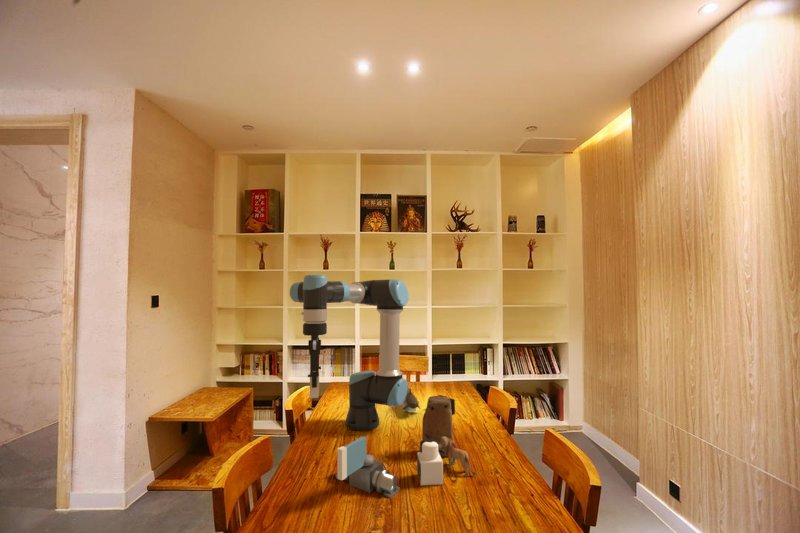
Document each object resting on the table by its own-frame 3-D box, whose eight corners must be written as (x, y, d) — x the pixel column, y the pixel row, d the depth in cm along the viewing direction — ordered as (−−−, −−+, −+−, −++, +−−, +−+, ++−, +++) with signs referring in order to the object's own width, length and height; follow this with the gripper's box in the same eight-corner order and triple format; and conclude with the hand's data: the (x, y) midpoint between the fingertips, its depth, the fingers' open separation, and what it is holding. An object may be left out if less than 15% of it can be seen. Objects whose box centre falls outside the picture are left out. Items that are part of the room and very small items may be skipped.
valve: (333, 481, 117) (333, 459, 118) (347, 472, 123) (347, 451, 123) (388, 502, 105) (388, 478, 106) (401, 490, 111) (401, 468, 112)
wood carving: (408, 397, 205) (408, 377, 205) (425, 419, 170) (424, 394, 171) (393, 398, 203) (392, 378, 204) (406, 420, 169) (406, 395, 169)
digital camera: (457, 413, 177) (456, 399, 178) (448, 416, 174) (448, 401, 175) (442, 408, 186) (442, 394, 186) (434, 410, 183) (434, 396, 183)
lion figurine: (436, 464, 127) (435, 437, 127) (445, 459, 130) (445, 433, 131) (471, 479, 116) (470, 450, 117) (481, 473, 120) (480, 445, 120)
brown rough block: (450, 448, 139) (449, 394, 140) (454, 457, 131) (453, 400, 132) (421, 449, 138) (421, 395, 139) (424, 458, 131) (423, 401, 132)
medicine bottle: (417, 474, 120) (416, 436, 120) (438, 473, 120) (438, 435, 121) (420, 486, 113) (419, 446, 113) (443, 484, 113) (442, 444, 114)
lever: (365, 458, 118) (365, 431, 118) (376, 461, 115) (376, 434, 116) (334, 477, 106) (334, 447, 106) (345, 482, 103) (345, 451, 104)
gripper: (304, 320, 128) (304, 386, 127) (301, 325, 108) (300, 404, 107) (326, 319, 130) (326, 384, 128) (327, 324, 110) (326, 402, 108)
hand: (314, 393), depth 118 cm, fingers open, 8 cm apart
